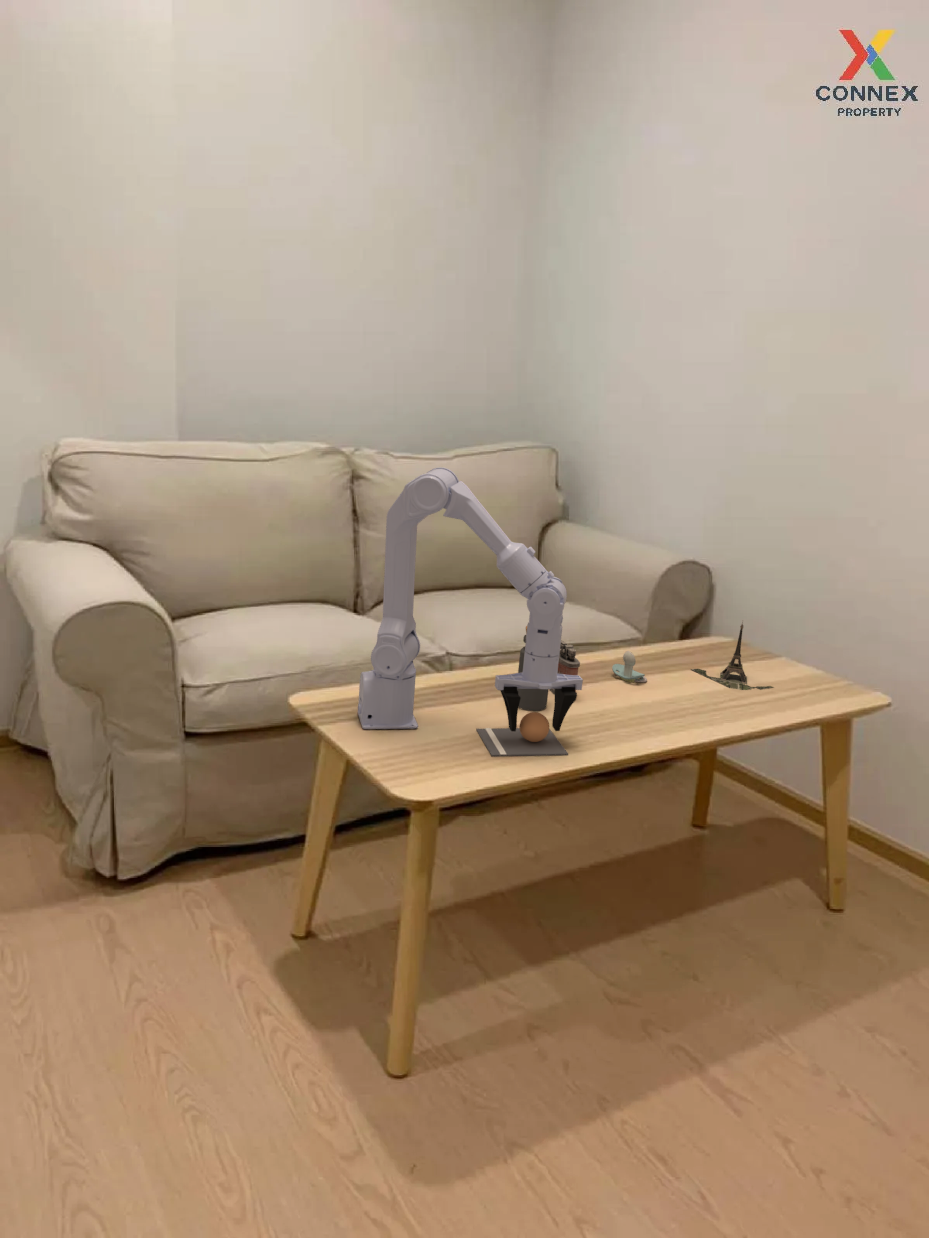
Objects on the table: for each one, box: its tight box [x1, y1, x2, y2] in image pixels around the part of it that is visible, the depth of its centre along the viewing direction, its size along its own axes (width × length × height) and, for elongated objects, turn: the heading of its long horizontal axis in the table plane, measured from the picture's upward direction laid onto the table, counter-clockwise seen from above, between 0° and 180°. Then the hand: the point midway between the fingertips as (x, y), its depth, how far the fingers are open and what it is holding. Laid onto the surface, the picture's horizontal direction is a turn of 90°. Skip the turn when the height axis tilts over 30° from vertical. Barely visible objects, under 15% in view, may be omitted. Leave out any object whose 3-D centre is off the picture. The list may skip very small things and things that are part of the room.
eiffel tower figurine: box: [690, 621, 773, 691], centre depth 211 cm, size 15×10×13 cm
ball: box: [518, 711, 550, 742], centre depth 170 cm, size 5×5×5 cm
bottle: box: [517, 625, 549, 712], centre depth 186 cm, size 6×6×15 cm
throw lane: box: [475, 727, 569, 757], centre depth 171 cm, size 13×11×1 cm
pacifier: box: [611, 650, 648, 683], centre depth 207 cm, size 7×6×6 cm
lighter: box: [549, 639, 581, 696], centre depth 194 cm, size 8×3×10 cm, turn 22°
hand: (534, 728), depth 170 cm, fingers open, 7 cm apart
